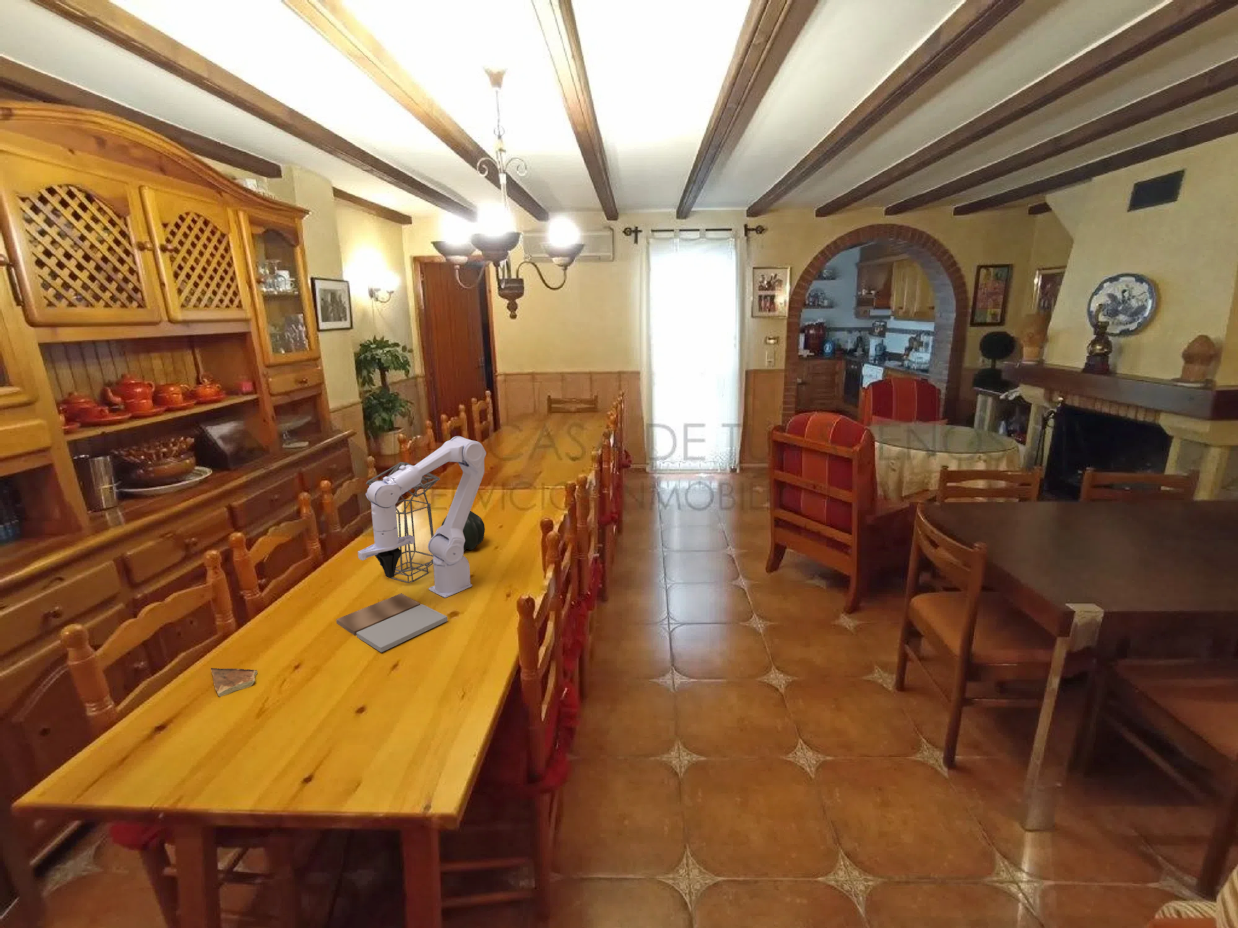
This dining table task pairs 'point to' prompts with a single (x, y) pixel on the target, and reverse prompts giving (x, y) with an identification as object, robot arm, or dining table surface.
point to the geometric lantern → (431, 483)
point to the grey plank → (401, 627)
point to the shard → (232, 679)
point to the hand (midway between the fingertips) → (389, 576)
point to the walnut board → (376, 613)
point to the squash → (472, 531)
